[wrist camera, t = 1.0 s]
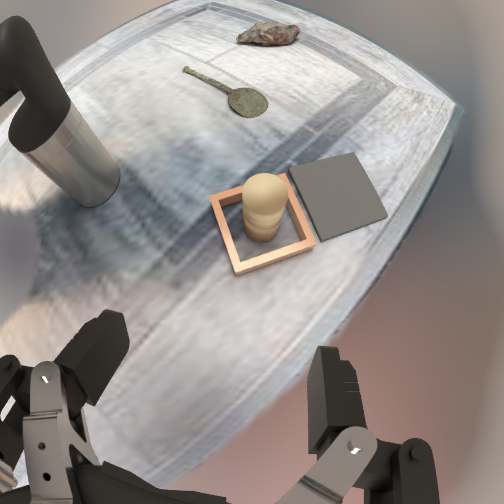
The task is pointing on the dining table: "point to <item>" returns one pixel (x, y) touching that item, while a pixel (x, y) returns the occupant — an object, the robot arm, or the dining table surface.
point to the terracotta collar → (271, 257)
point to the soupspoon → (240, 97)
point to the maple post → (263, 206)
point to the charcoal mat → (337, 195)
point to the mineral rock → (270, 34)
